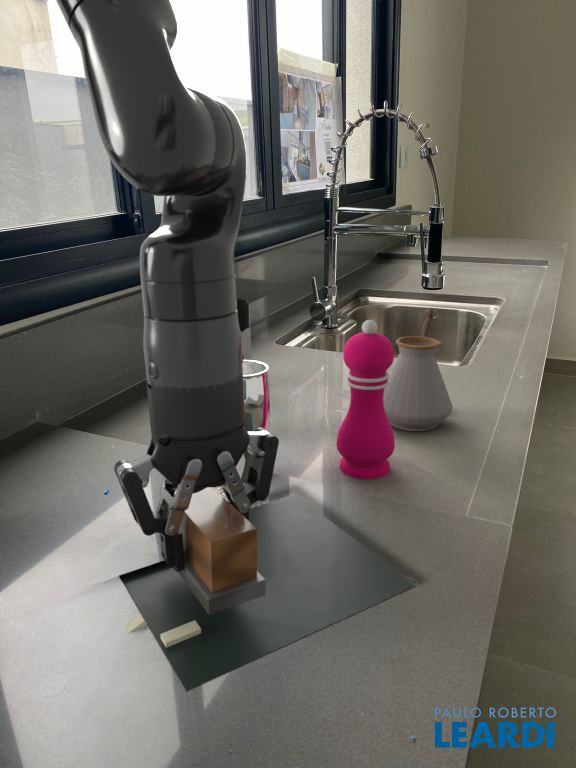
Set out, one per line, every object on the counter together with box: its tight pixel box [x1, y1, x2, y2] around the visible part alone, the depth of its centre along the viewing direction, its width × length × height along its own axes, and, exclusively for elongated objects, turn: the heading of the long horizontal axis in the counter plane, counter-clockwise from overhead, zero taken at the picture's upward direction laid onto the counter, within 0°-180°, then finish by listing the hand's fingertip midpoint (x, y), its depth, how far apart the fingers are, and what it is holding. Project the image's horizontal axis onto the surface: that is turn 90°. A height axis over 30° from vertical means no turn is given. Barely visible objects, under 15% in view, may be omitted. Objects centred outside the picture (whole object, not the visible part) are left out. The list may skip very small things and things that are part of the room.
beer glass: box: [236, 359, 272, 484], centre depth 72 cm, size 7×7×15 cm
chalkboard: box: [118, 493, 416, 692], centre depth 57 cm, size 22×20×1 cm
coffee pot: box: [383, 307, 453, 432], centre depth 95 cm, size 21×12×15 cm, turn 160°
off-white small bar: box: [160, 620, 201, 648], centre depth 48 cm, size 3×1×1 cm, turn 123°
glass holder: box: [237, 298, 252, 360], centre depth 113 cm, size 9×14×15 cm, turn 162°
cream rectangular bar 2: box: [123, 612, 148, 634], centre depth 49 cm, size 3×1×1 cm, turn 126°
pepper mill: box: [335, 319, 396, 481], centre depth 73 cm, size 7×7×20 cm
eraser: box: [155, 487, 265, 615], centre depth 52 cm, size 5×12×6 cm, turn 31°
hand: (206, 555), depth 52 cm, fingers closed on eraser, 5 cm apart
